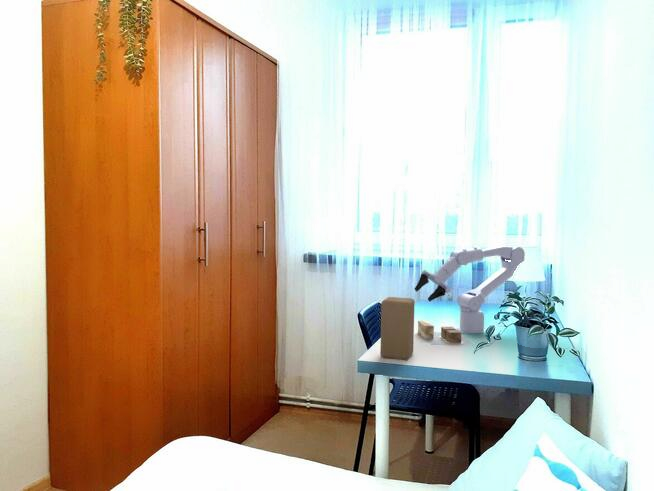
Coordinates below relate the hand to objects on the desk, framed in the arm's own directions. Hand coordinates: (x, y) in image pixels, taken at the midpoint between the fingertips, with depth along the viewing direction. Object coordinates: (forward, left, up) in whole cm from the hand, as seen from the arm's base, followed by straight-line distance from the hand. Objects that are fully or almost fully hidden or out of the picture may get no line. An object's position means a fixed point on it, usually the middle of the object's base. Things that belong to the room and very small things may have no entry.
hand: (422, 295), depth 232 cm
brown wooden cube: (-9, +8, -16) cm, 20 cm away
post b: (-9, +14, -16) cm, 23 cm away
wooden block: (+18, +32, -16) cm, 41 cm away
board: (-7, +8, -16) cm, 19 cm away
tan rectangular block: (-1, +4, -16) cm, 16 cm away
